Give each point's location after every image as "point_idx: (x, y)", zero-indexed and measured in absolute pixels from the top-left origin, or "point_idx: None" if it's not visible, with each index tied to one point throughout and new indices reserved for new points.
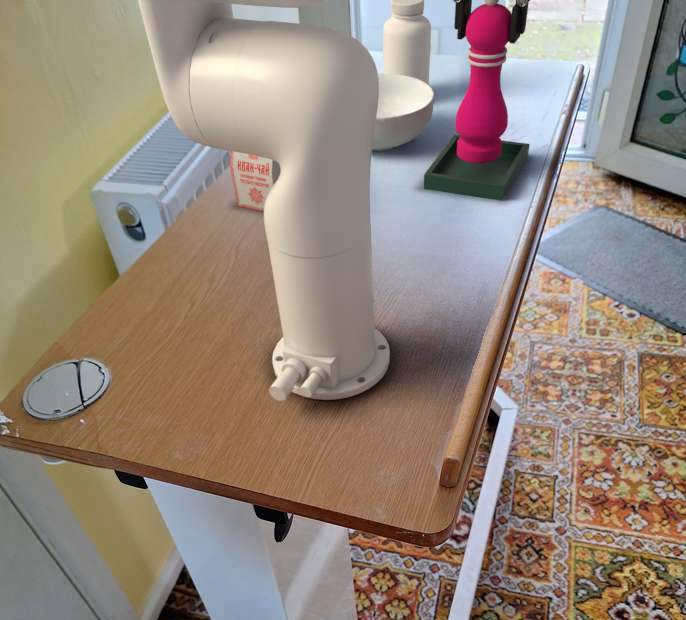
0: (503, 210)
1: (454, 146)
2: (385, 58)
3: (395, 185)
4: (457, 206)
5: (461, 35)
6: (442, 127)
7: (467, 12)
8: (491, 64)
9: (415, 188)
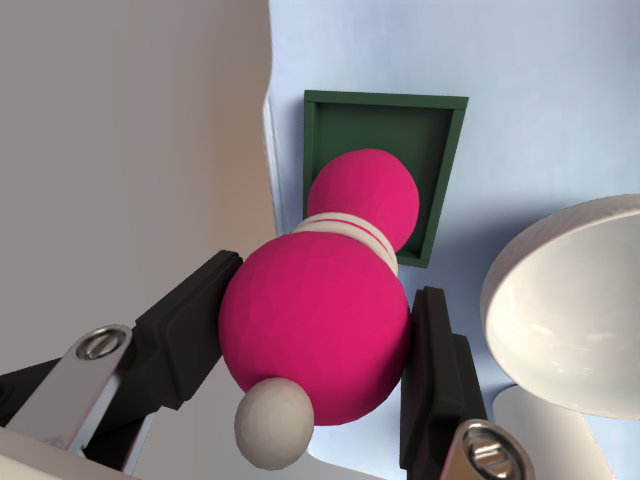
0: (303, 54)
1: (422, 240)
2: (613, 474)
3: (530, 95)
4: (385, 42)
5: (424, 293)
6: (455, 321)
7: (410, 387)
8: (309, 217)
9: (481, 93)
